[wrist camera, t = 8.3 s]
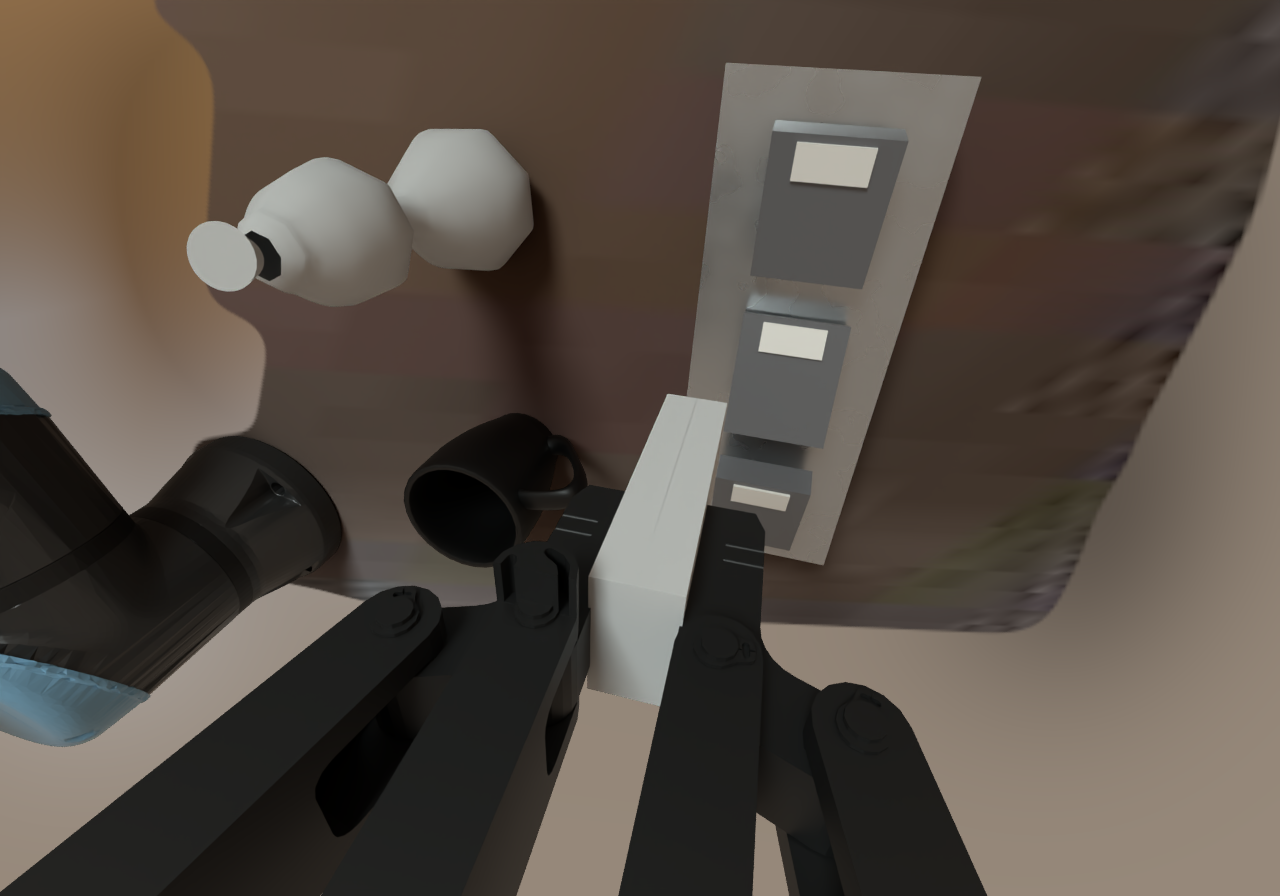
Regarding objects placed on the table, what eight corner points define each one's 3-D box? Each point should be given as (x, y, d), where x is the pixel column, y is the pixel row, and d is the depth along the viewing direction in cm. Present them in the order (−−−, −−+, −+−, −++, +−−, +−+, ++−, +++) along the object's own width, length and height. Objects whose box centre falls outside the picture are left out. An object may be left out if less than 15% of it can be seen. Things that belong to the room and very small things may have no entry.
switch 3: (712, 512, 35) (707, 535, 34) (720, 454, 31) (715, 479, 30) (791, 528, 34) (789, 553, 33) (812, 471, 30) (810, 497, 29)
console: (684, 490, 41) (668, 539, 36) (737, 70, 27) (724, 61, 23) (825, 518, 39) (828, 574, 35) (959, 83, 26) (994, 76, 21)
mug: (632, 479, 42) (593, 565, 34) (499, 492, 46) (436, 570, 38) (601, 381, 38) (549, 451, 30) (459, 404, 42) (380, 471, 34)
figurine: (473, 278, 37) (200, 414, 20) (409, 156, 34) (25, 197, 17) (571, 236, 34) (346, 354, 17) (511, 96, 30) (165, 75, 14)
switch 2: (725, 424, 30) (723, 432, 28) (745, 311, 28) (743, 312, 26) (820, 440, 29) (823, 449, 27) (846, 325, 27) (851, 327, 25)
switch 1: (753, 260, 27) (749, 277, 25) (775, 120, 22) (772, 132, 21) (861, 273, 26) (862, 290, 24) (905, 129, 21) (908, 142, 20)
